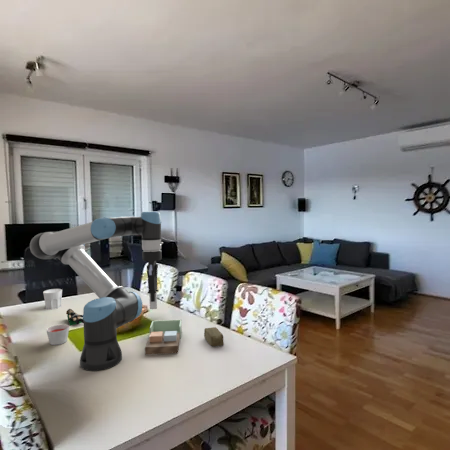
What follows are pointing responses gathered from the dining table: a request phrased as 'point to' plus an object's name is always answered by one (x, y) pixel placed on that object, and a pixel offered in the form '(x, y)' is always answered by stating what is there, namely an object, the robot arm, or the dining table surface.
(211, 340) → the stone block
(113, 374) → the dining table surface
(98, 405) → the dining table surface
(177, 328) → the tray
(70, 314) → the figurine
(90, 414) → the dining table surface
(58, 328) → the candle
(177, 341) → the board
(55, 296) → the cup
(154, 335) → the tile terracotta
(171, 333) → the pale blue square block
